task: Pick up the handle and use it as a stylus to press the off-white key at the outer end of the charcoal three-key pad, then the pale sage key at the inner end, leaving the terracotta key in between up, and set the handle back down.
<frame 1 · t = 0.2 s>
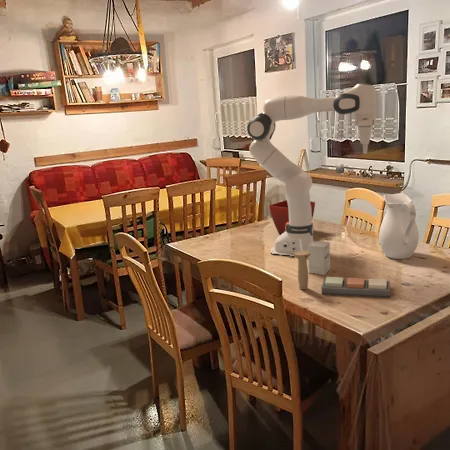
hand: (365, 152, 208), 48 cm above the table, tool pointing down, fingers open, 8 cm apart
keypad: (355, 290, 178), on the table
plant pot: (293, 232, 264), on the table
key offwhite: (377, 284, 175), point 3 cm above the table, slide at 0.0 cm
handle: (303, 289, 184), on the table
supplement box: (319, 271, 201), on the table
key terracotta: (355, 283, 177), point 3 cm above the table, slide at 0.0 cm
pitcher: (400, 258, 210), on the table
key sage: (334, 282, 180), point 3 cm above the table, slide at 0.0 cm
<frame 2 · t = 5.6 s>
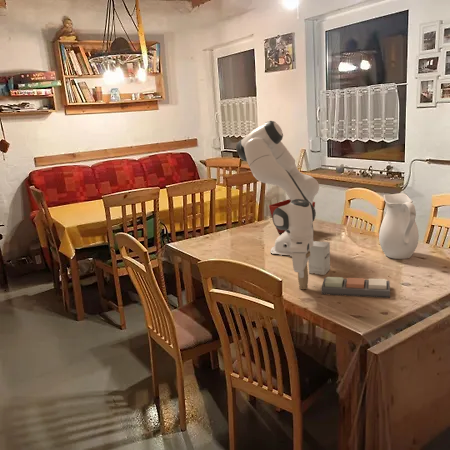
hand: (302, 274, 183), 6 cm above the table, tool pointing down, fingers closed on handle, 4 cm apart
handle: (303, 289, 184), on the table, touching gripper
everything else where it was.
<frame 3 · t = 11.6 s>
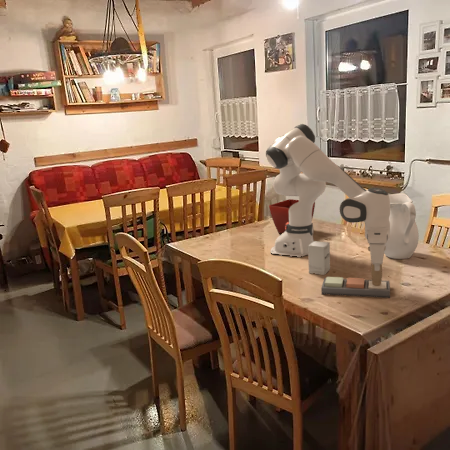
hand: (377, 267, 173), 10 cm above the table, tool pointing down, fingers closed on handle, 4 cm apart
key offwhite: (377, 287, 175), point 2 cm above the table, slide at 1.0 cm, touching handle, keypad
handle: (376, 285, 175), point 3 cm above the table, touching gripper, key offwhite
everything else where it was.
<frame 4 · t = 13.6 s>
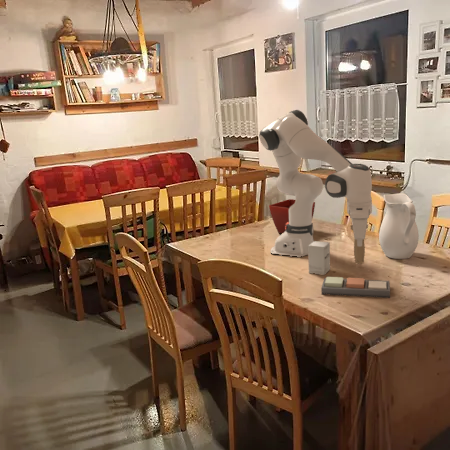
hand: (359, 243, 174), 19 cm above the table, tool pointing down, fingers closed on handle, 4 cm apart
key offwhite: (377, 287, 175), point 2 cm above the table, slide at 1.0 cm, touching keypad
handle: (359, 263, 176), point 11 cm above the table, touching gripper
everything else where it was.
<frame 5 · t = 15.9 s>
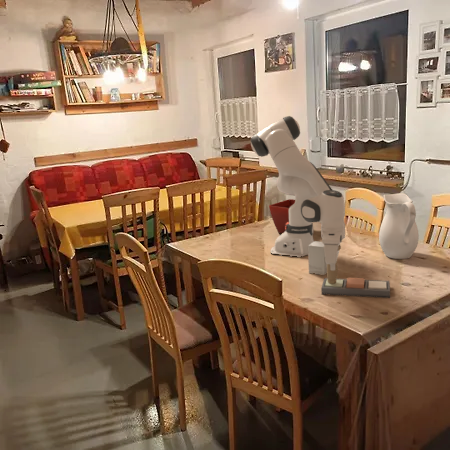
hand: (333, 267, 178), 9 cm above the table, tool pointing down, fingers closed on handle, 3 cm apart
handle: (331, 283, 180), point 3 cm above the table, touching gripper, key sage
key sage: (334, 285, 180), point 2 cm above the table, slide at 1.0 cm, touching handle, keypad
everything else where it was.
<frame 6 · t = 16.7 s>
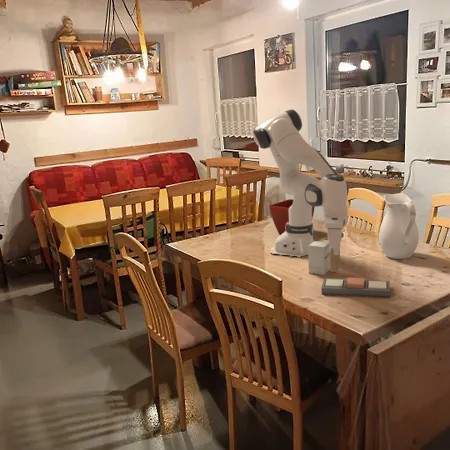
hand: (336, 252, 177), 15 cm above the table, tool pointing down, fingers closed on handle, 4 cm apart
handle: (334, 271, 179), point 7 cm above the table, touching gripper
key sage: (334, 285, 180), point 2 cm above the table, slide at 1.0 cm, touching keypad
everything else where it was.
when the fingers open (8 cm above the table, at t = 19.3 s): handle moves 2 cm, on the table.
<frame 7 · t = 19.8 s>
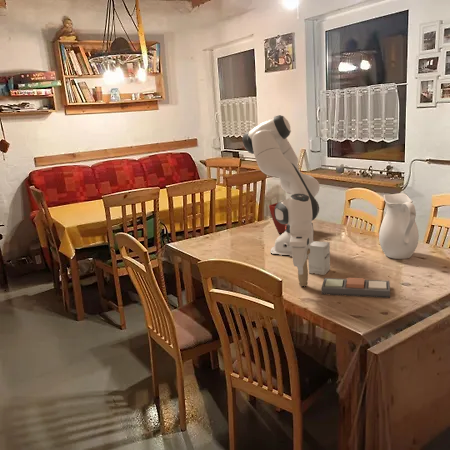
hand: (302, 269, 182), 8 cm above the table, tool pointing down, fingers open, 8 cm apart
handle: (303, 286, 186), on the table, touching gripper
everything else where it was.
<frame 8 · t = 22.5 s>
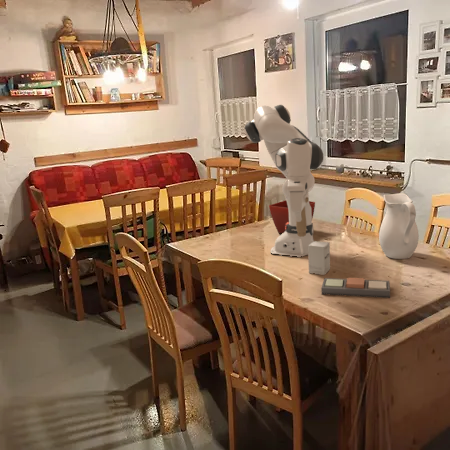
hand: (300, 218, 177), 29 cm above the table, tool pointing down, fingers open, 8 cm apart
handle: (301, 236, 181), point 21 cm above the table, touching gripper
everything else where it was.
at the end: key offwhite slide at 1.0 cm; key sage slide at 1.0 cm; key terracotta slide at 0.0 cm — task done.
